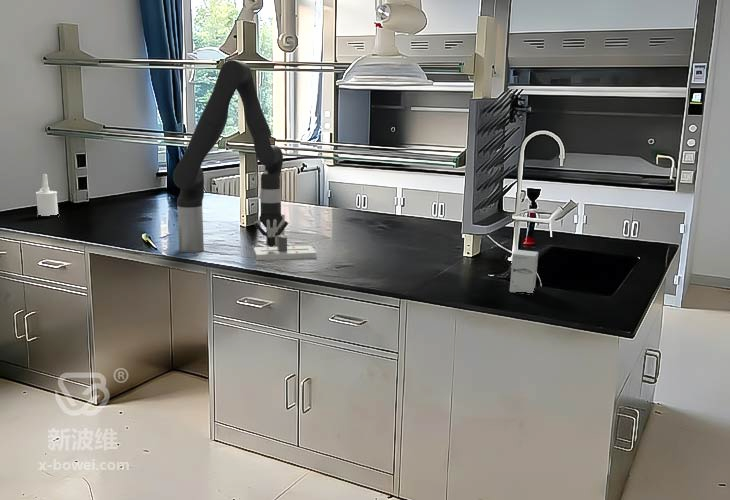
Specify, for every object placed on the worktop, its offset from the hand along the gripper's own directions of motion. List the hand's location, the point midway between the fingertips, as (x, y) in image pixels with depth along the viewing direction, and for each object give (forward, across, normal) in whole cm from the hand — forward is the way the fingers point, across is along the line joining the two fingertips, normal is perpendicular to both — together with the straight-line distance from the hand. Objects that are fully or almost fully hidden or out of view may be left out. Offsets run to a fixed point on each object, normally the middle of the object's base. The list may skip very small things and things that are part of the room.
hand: (271, 246), depth 261 cm
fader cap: (+1, +4, 0) cm, 4 cm away
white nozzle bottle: (+4, -95, +95) cm, 134 cm away
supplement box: (+4, +73, -59) cm, 95 cm away
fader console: (+4, +5, 0) cm, 6 cm away
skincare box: (+4, +4, +20) cm, 21 cm away
